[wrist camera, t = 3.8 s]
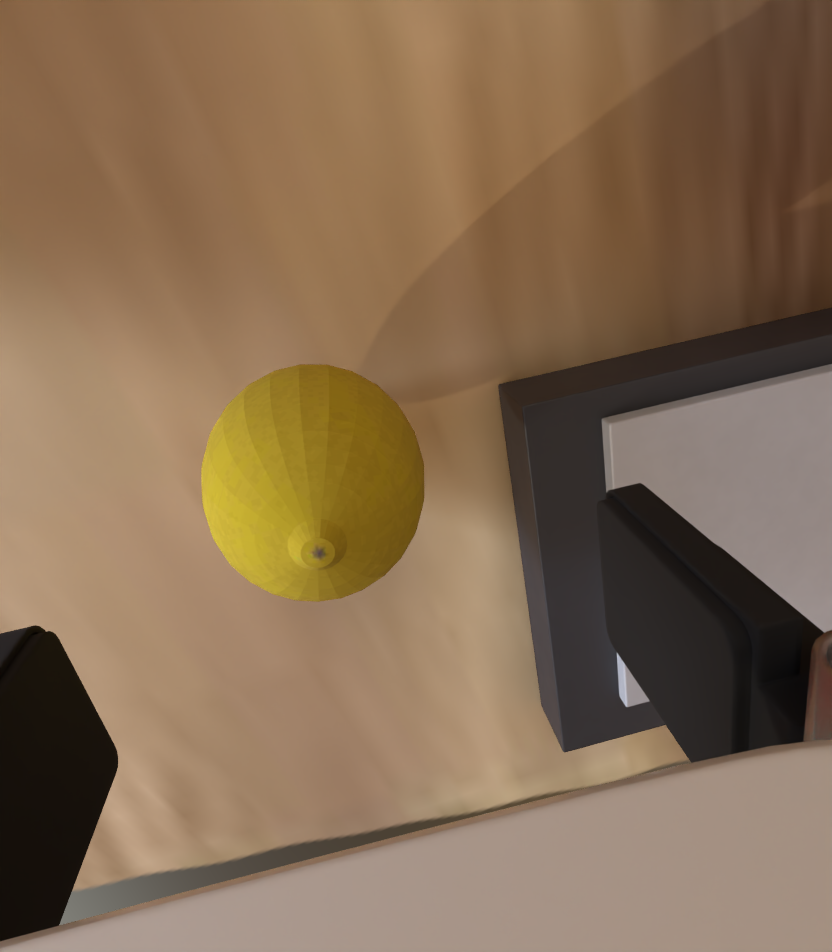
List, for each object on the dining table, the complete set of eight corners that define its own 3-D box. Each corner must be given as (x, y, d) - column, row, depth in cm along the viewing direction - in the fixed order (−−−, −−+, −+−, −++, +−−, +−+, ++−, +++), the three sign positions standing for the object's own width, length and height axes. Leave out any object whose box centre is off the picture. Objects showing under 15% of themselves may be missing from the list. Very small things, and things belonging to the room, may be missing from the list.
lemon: (424, 469, 21) (486, 610, 13) (269, 529, 21) (247, 702, 13) (365, 310, 18) (402, 376, 11) (190, 377, 18) (113, 487, 11)
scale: (546, 745, 27) (574, 807, 24) (497, 383, 20) (528, 412, 17) (888, 651, 28) (953, 701, 25) (951, 279, 21) (1049, 290, 18)
